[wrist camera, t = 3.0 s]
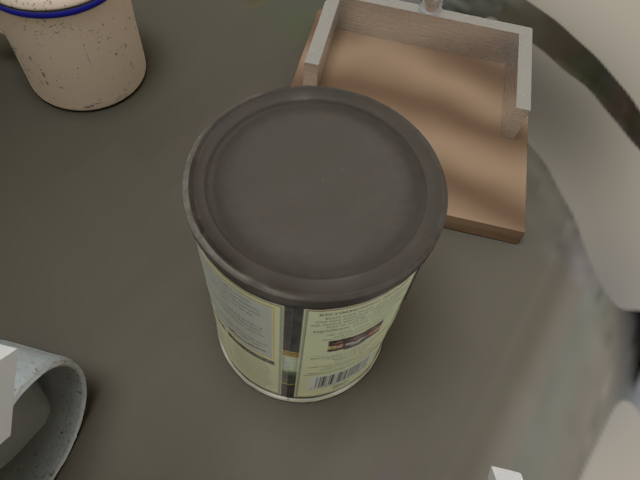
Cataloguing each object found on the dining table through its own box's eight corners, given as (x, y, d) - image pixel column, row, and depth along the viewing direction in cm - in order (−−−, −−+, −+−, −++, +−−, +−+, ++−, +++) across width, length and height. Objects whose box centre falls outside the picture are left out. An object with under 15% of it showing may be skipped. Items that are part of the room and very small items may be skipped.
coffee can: (292, 218, 37) (303, 49, 25) (416, 312, 34) (497, 173, 22) (178, 325, 32) (122, 183, 20) (310, 443, 29) (337, 361, 17)
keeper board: (516, 243, 37) (525, 232, 36) (260, 186, 38) (260, 172, 36) (522, 67, 46) (529, 53, 45) (316, 24, 47) (318, 9, 46)
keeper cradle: (513, 139, 40) (569, 42, 32) (302, 93, 41) (309, -12, 33) (517, 49, 45) (566, -52, 38) (330, 10, 46) (341, -98, 38)
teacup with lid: (166, 45, 44) (136, -105, 34) (124, 126, 40) (75, -21, 30) (25, 17, 45) (-46, -140, 35) (-33, 94, 40) (-134, -62, 30)
